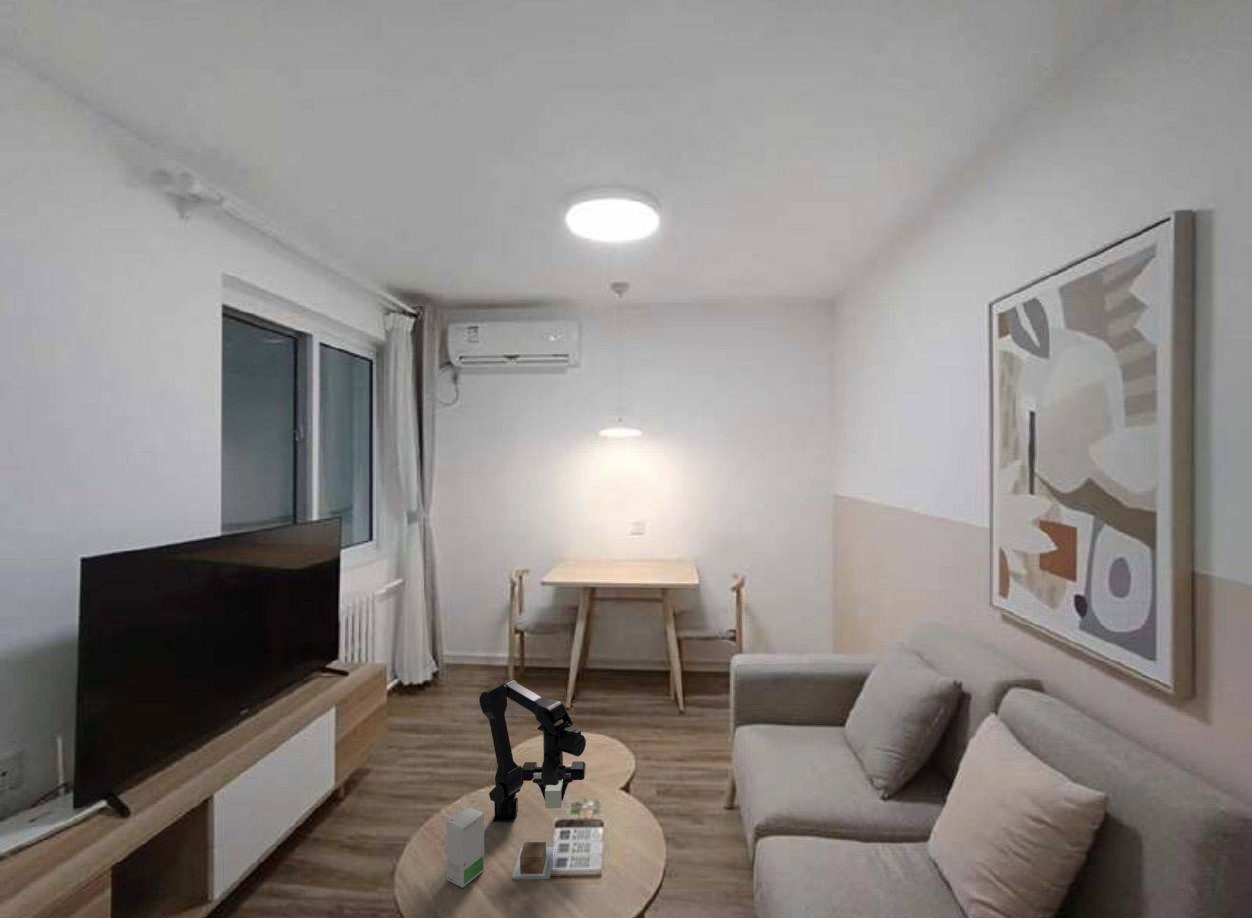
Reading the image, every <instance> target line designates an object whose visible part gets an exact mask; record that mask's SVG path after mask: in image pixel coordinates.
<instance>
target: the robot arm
mask: <svg viewBox="0 0 1252 918" xmlns="http://www.w3.org/2000/svg"><path fill="white" fill-rule="evenodd" d="M508 699H510V700H511V701H512V702H515V703H516V704H518V705H519V706H521V707H523V708H524V709H526V710H528V711H529V712H531V713H532V714H533V715H534V717H535V719H536V721H537V722H539V723H540V725H539V726H537V730H538V731H540V732H542V733H543V734H542V737H543V740H542V741H543V742H542V743H543V761H542V763H541V764H542V765H541V766H538V762H537V761H525V762H524V764H523V765H518V764H517V763H516V761H514V756H513V752H512V746H511V741H510V735H509V730H508V725H507V720H506V715H505V713H506V711H507V707H508ZM478 700H479V701H478V702H479V705H480V709H481V712H482V713H483V715H484V716H485V717H486V719H488V721H489V726H490V732H491V736H492V737H491V738H492V742H493V743H492V744H493V748H494V752H495V759H496V762H497V768H496V773H495V776H494V782H495V784H494V785H495V786H494V787H493V788H492V789H491V790H490V791H489V793H488V796H489V799H490V801H492V802H493V803H494V804H493V805H494V816H493V819H492V820H493V821H492V822H514V821H515V818H516V816H517V814H518V813H519V798H518V797H517V793H520V792H521V788H522V787H523V785H524V782H531V781H532V783H533V784H537V785H538V787H539V789H540V792H541V794H542V796H543V799H544V801H545V789H546V786H547V785H553V786H555V785H558V783H559V782H563V785H562V795H561V798H562V800H563V801H564V798H565V795H566V791H567V788H568V786H569V784H570V783H573V782H574V781H583V780H585V778H586V777H585V776H586V770H587V769H586V768H587V767H586V765H587V764H586V762H585V761H583V760H582V761H579V760H578V761H575V760H574V761H572V763H571V764H570V765H564V753H565V754H569V755H572V756H575V757H580V756H582V754H583V753H584V751H585V749H586V744H587V740H586V737H585V736H584V734H582V731H581V729H574V728H571V727H573V725H574V723H573V721H572V720H571V717H570V715H569V713H568V711H567V709H566V708H565V705H564V703H563V702H562V701H559V700H557V699H554V698H545V697H541V696H540V695H538V694H537V693H535V692H533V691H531V690H530V689H528V688H526V687H524V686H523V685H521V684H519V683H518V682H517V680H515V679H509V680H508V681H506V682H503V683H502V684H501V685H496V686H494V687H492V688H490V689H487V690H484V691H482V692H481V693H480V696H479V699H478ZM561 721H563V722H561ZM560 722H561V723H560ZM558 723H560V724H558Z"/></svg>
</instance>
